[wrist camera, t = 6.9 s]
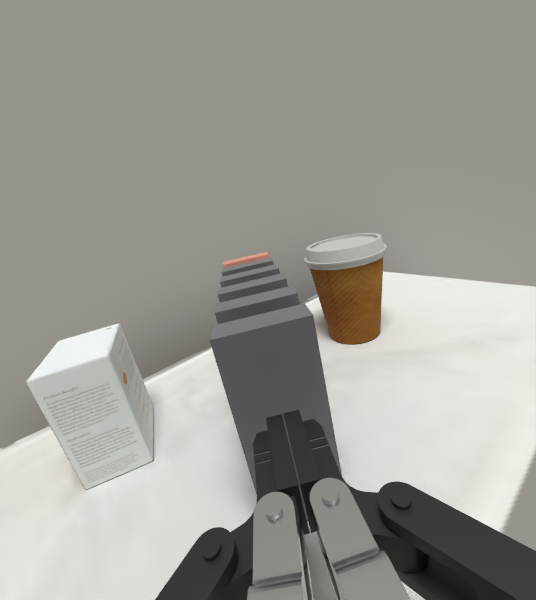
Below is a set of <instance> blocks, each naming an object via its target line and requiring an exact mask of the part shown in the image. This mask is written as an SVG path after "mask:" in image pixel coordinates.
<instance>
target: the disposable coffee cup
mask: <svg viewBox="0 0 536 600" xmlns="http://www.w3.org/2000/svg"><path fill="white" fill-rule="evenodd" d="M386 248H387V246H386V245H385V244H384V243H383V240H382V237H381V235H379V234H374V233H362V234H353V235H346V236H340V237H335V238H330V239H326V240H323V241H320V242H317V243H314V244H312V245H310V246H309V247H307V252H306V254H307V255H306V257H305V263H307V265H308V267H309V268H310V270H311V274H312V276H313V280H314V283H315V287H316V290H317V293H318V296H319V300H320V303H321V306H322V310H323V313H324V316H325V319H326V323H327V326H328V329H329V333H330V336H331V338H332V339H333V340H335V341H337V342H340V343H345V344H359V343H364V342H368V341H370V340H373V339H375V338H376V337H377V336H378V335H379V334H380V319H381V295H382V273H383V272H382V270H383V256H384V255H385V250H386Z"/></svg>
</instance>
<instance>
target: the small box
mask: <svg viewBox="0 0 536 600" xmlns="http://www.w3.org/2000/svg"><path fill="white" fill-rule="evenodd" d="M26 384H27V386H28V388H29V390H30V391H31V393H32V395H33V397H34V399H35V400H36V402H37V404H38V405H39V407H40V409H41V411H42V413H43V415H44V416H45V418H46V420H47V422H48V424H49V425H50V427H51V429H52V431H53V432H54V434H55V436H56V438H57V440H58V441H59V443H60V445H61V447H62V449H63V451H64V452H65V454H66V456H67V458H68V460H69V461H70V463H71V465H72V467H73V468H74V470H75V472H76V474H77V475H78V477H79V479H80V481H81V483H82V485H83V487H84V488H85V489H89V488H92V487H94V486H96V485H98V484H101V483H103V482H105V481H107V480H110V479H112V478H114V477H117V476H119V475H121V474H124V473H126V472H129V471H131V470H133V469H136V468H138V467H140V466H143V465H145V464H147V463H149V462H151V461H153V459H154V457H153V411H154V408H153V406H152V403H151V400H150V398H149V395H148V392H147V390H146V387H145V385H144V382H143V380H142V378H141V375H140V372H139V370H138V367H137V365H136V362H135V360H134V357H133V355H132V353H131V350H130V348H129V345H128V343H127V340H126V338H125V335H124V333H123V330H122V328H121V325H120V324H115V325H112V326H109V327H105V328H102V329H99V330H95V331H92V332H88V333H85V334H81V335H78V336H74V337H71V338H68V339H64V340H61V341H58V342H57V344H56V345H55V346H54V347H53V349H52V350H51V351H50V352H49V354H48V355H47V356H46V358H45V359H44V360H43V361H42V363H41V364H40V365H39V366H38V368H37V369H36V370H35V371H34V372H33V374H32V375H31V376H30V377H29V379H28V380H27V381H26Z"/></svg>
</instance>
